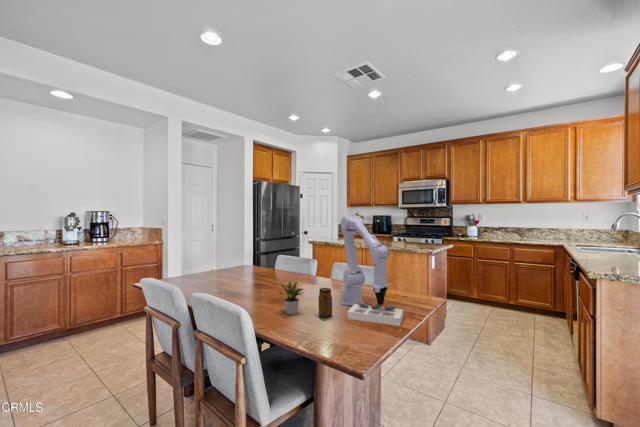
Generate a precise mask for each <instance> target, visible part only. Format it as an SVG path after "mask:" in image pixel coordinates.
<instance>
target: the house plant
mask: <svg viewBox="0 0 640 427" xmlns="http://www.w3.org/2000/svg"><path fill="white" fill-rule="evenodd" d="M292 279H293V278H292V277H291V278H290V281H289V280H287V283H286V281H284V282H285V284H284V283H283V282H282V281H280V282H277V285H278V284H279V285H280V286H281V287H282V288H283V289H284V291H285V293H286V295H285V293H284V292H282V291H281V292H279V293H278V295H280V296H285V297H286V298H285V297H284V298H283V303H284V308H285V309H284V310H285V314H286V315H290V316H293V315H296V314H297V313H298V310H299V303H300V302H299V301H300V299H299V298H298V297H297V296H303V295H305V292H301V291H304V288H301V287H300V288H299V284H298V281H299V280H300V279H299V278H298V279H296V281H294V283H293V284H292ZM301 284H304V281H303V282H302V281H301V283H300V285H301ZM302 294H303V295H302Z"/></svg>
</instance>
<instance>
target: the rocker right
mask: <svg viewBox="0 0 640 427" xmlns="http://www.w3.org/2000/svg"><path fill="white" fill-rule="evenodd" d="M393 309H396V304H392V305H385V310H389V311H391V310H393Z"/></svg>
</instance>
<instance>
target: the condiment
mask: <svg viewBox="0 0 640 427" xmlns="http://www.w3.org/2000/svg"><path fill="white" fill-rule="evenodd" d="M318 292H319V295H318V313H315V314H314V315H315V316H317V317H318V318H319V319H321V320H322V321H327V320H334V319H337V318H339V317H338V316H336V315H335V314H333V295H332V289H331V288H330V287H321V288H319V291H318Z"/></svg>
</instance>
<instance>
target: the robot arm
mask: <svg viewBox="0 0 640 427" xmlns="http://www.w3.org/2000/svg"><path fill="white" fill-rule="evenodd" d="M340 228H341V229H340V230H341V234H342V235H343V236H342V237H343V242H344V250H345V256H346V257H345V258H346V259H345V260H346V264H347V266H346V268H345V269H344V271H343V277H342V281H343V284H344V285H343V286H342V289H341V290H342V291H341V299H342V300H341V301H342V302H341V305H343V306H351V307H352V306H353V305H354V304H359V302H360V301H361V302H364V303H365V301H364V300H362V296H363V294H362V287H363V286H364V284H365V282H366V277H365V274H364V271H363V269H362V268H361V267H360V266H359V264H358V259H357V258H358V256H357V251H356V243H355V234H356V233H358V234H359V235H360V236H361V237H362V238H363V243H364V244H365V246H366V247H367V249H368V250H369V251H370V252H369V253H370V257H371V262H372V265H373V284H372V285H373V289H372V291H373V293H374V294H375V297H376V302H377V304H378V305H382V306H383V305H384V303H385V297H386V294H387V292H388V287H390V286H391V284H390V283H388V271H387V270H388V268H387V267H388V266H387V265H388V263H387V259H389V257H390V249H389V248H388V246H387V245H383V244H381V242H380V241H379V240H378V239H377V237H376V235H374V234H371V233H370V232H369V231H368V228H367V227H366V226H365V225H364V219H363V218H362V216H361V215H357V216H356V215H355V216H353V215H352V216H346V215H344V216H342V218H341V219H340Z"/></svg>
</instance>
